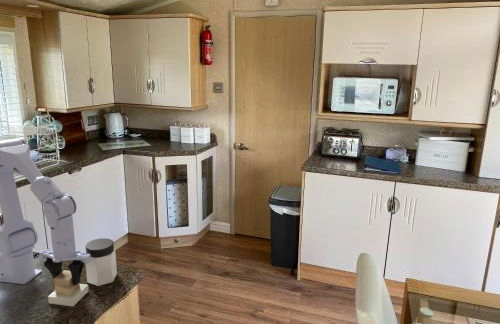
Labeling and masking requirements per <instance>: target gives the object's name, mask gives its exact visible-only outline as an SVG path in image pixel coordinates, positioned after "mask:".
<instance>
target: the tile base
mask: <svg viewBox="0 0 500 324" xmlns="http://www.w3.org/2000/svg"><path fill="white" fill-rule="evenodd" d="M88 293H89V284H86V283H85V284H84V283H80V288H78V289H77V290H76V291H75V292H74V293H73V294H72V295H71V296H66V295H59V294H56V292H55V290H54V291H52V292H51V293H50V294H49V295H48V296H47V299H48V304H51V305H52V304H53V305H60V306H67V307H75V305H76V304H78V302H79V301H80V300H82V299H83V297H85V295H86V294H88Z"/></svg>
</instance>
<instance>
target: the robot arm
mask: <svg viewBox="0 0 500 324" xmlns="http://www.w3.org/2000/svg"><path fill="white" fill-rule="evenodd" d="M14 168H15V169H16V170H17V171H18V172H19V173H20V174H21V175H22V176H23V177H24V178H25V179H26V180H27V181H28V182H29V183H30V186H29V189H30V191H31V192H32V194H33V195H34V197H36V199H37V200H38V201H39V203H40V204H41V205H42V207H43V208H42V212H43V215H44V217H45V219H46V222H47V226H48V227H50V228H49V230H50V237H51V239H50V240H51V246H52V247H51V248H49V249H46V248H45V249H42V250H40V251H39V252H38V255H39V259H41V260H44V259H46V260H45V261H44V262H43V266H44V267H45V268H47V270H48V271H49V273H50V275H51V277H52V279H54V278H55V277H56V276H58V275H59V274H60V273H61V272H63V269H62V268H63V261H64V262H66V261H68V262H69V261H72V262H71V263H70V264H68V265H67V268H68V271H70V272H71V275H72V282H73V285H77V284H78V283H80V282H81V276H82V271H83V269H84V268H85V265H86V264H87V263H88V262H89V261H90V260H91V256H90V254H86V252H83V251H80V250H77V249H76V239H75V238H76V237H75V230H74V229H75V227H74V219H73V215H74V214H75V213H76V211H77V202H76V201H75V199H74V198H73V196H72V195H70V194H69V193H68V194H67V193H66V192H62V191H61V189H60V188H59V187H58V186H57V185H56V183H55V182H54V181H53V180H52V178H50V177H49V176H43V174H42V173H41V170H40V169H39V167H37V165H36V163H35V162H34V160H33V159H32V157H31V148H30V145H29V144H28V143H27V141H26V139H24V138H22V137H16V138H12V139H4V140H0V210H1V216H2V219H3V224H1V226H0V282H2V283H10V284H11V283H12V284H20V285H25V284H27V283H28V282H30V281H31V280H33V278H35V277H36V276H38V275H39V274H40V273H42V271H43V270H42V269H38V268H36V266H35V258H34V251H33V249H35V247H36V246H35V245H36V244H37V243H38V240H39V235H38V233H37V231H36V229H35V227H34V223H33V222H32V221H30V220H26V219H24V215H23V214H24V213H23V212H22V207H21V201H20V198H19V192H18V187H17V184H16V183H17V182H16V179H15V176H14Z"/></svg>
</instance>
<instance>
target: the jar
mask: <svg viewBox="0 0 500 324" xmlns="http://www.w3.org/2000/svg"><path fill="white" fill-rule="evenodd" d="M85 253H86V254H90V256H91V260H90V261H89V262H88V263H87V264H86V263H85V270H86V273H85V274H86V282H87V283H89V284H91V285H93V286H94V285H95V286H96V287H99V286H103V285H107V284H111V283H113V282H114V281H115V279H116V277H117V275H118V271H117V255H116V253H117V252H116V248H115V243H114V240H113V239H110V238H105V237H104V238H101V237H100V238H96V239H93V240H90V241H89V242H87V243H86V245H85Z"/></svg>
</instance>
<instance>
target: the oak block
mask: <svg viewBox="0 0 500 324" xmlns="http://www.w3.org/2000/svg"><path fill="white" fill-rule="evenodd" d="M53 283H54V291H55V292H56V294H59V295H66V296H71V295H72V294H73V293H74V292H75V291H76V290H77V289H78V288H80V284H81V283H80V282H79V283H78V284H77V285H73V282H72V275H71V272H70V270H65V269H64V270H62V272H61V273H60V274H59V275H58V276H56V277H55V278H53Z"/></svg>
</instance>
